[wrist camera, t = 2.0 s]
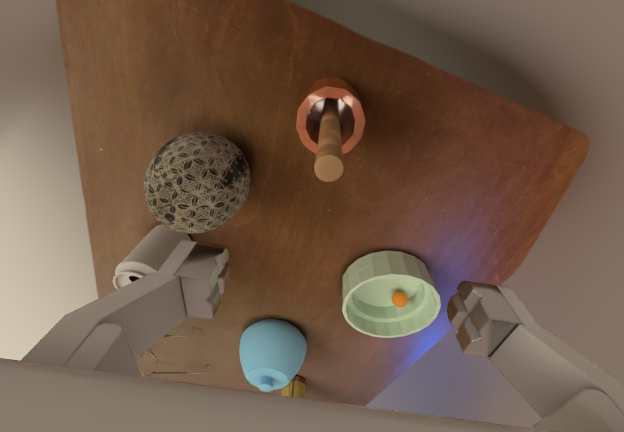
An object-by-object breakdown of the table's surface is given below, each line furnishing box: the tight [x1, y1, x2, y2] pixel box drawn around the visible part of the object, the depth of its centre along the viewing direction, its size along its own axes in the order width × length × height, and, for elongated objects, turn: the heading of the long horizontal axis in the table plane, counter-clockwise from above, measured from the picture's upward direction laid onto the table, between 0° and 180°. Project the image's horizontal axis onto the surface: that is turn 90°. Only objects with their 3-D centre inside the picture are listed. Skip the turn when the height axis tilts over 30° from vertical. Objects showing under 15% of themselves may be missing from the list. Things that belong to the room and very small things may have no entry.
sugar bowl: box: [239, 319, 307, 392], centre depth 59 cm, size 15×15×12 cm
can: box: [113, 224, 191, 290], centre depth 45 cm, size 8×8×12 cm
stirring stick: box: [314, 99, 344, 182], centre depth 27 cm, size 2×2×20 cm
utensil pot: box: [296, 77, 366, 154], centre depth 32 cm, size 7×7×9 cm
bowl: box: [341, 251, 441, 338], centre depth 49 cm, size 16×16×6 cm
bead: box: [392, 291, 408, 307], centre depth 51 cm, size 3×3×3 cm
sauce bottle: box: [282, 376, 306, 398], centre depth 66 cm, size 6×6×20 cm
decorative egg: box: [144, 132, 250, 233], centre depth 35 cm, size 12×12×15 cm
